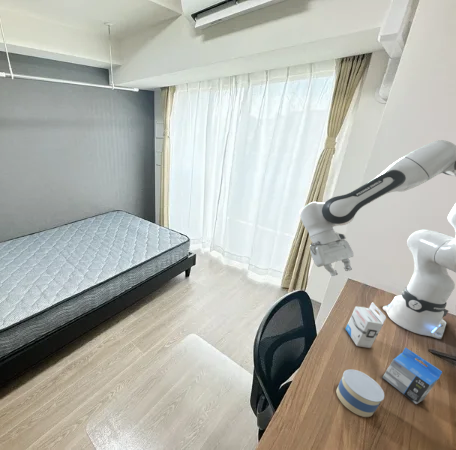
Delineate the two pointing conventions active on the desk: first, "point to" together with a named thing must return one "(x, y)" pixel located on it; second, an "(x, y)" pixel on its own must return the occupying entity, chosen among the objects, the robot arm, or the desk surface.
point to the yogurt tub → (359, 393)
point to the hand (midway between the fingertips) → (342, 273)
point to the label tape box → (412, 375)
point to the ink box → (365, 325)
